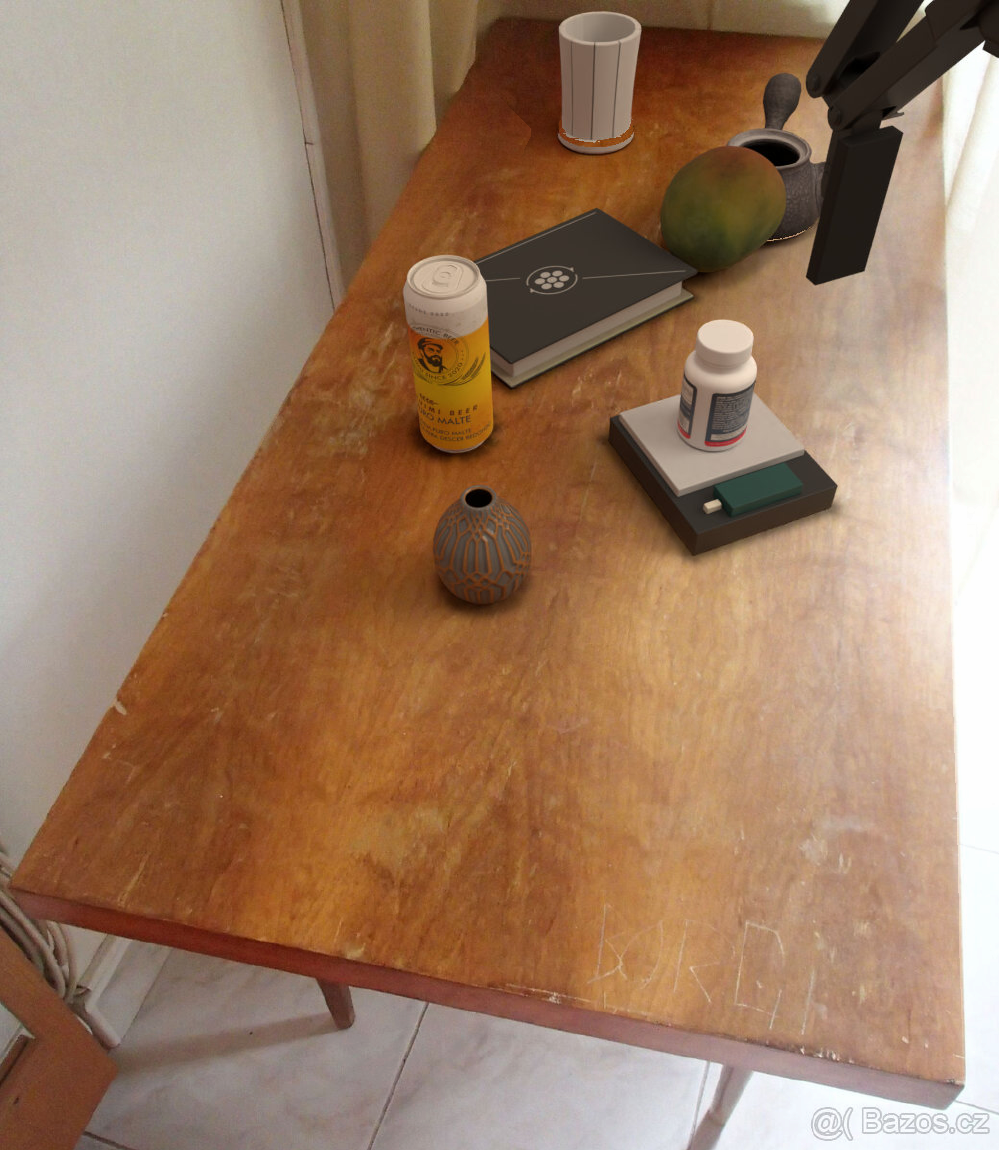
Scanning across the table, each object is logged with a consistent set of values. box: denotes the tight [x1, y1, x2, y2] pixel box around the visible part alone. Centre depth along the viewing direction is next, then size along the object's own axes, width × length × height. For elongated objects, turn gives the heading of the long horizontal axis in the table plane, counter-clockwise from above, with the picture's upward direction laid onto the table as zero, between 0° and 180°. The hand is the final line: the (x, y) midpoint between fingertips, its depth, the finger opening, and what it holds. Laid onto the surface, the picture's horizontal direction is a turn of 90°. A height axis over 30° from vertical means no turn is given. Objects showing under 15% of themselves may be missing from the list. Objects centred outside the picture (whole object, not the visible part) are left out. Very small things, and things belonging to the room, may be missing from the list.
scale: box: [608, 391, 839, 556], centre depth 77 cm, size 14×12×3 cm
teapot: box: [725, 72, 826, 243], centre depth 101 cm, size 19×15×10 cm
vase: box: [432, 484, 533, 605], centre depth 69 cm, size 7×7×9 cm
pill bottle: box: [677, 319, 758, 451], centre depth 73 cm, size 5×5×9 cm
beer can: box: [402, 254, 494, 454], centre depth 77 cm, size 6×6×15 cm
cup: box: [557, 11, 642, 155], centre depth 111 cm, size 10×9×12 cm
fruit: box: [659, 145, 786, 273], centre depth 94 cm, size 12×12×10 cm
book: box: [472, 207, 698, 389], centre depth 93 cm, size 22×15×3 cm
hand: (929, 358), depth 42 cm, fingers open, 13 cm apart
